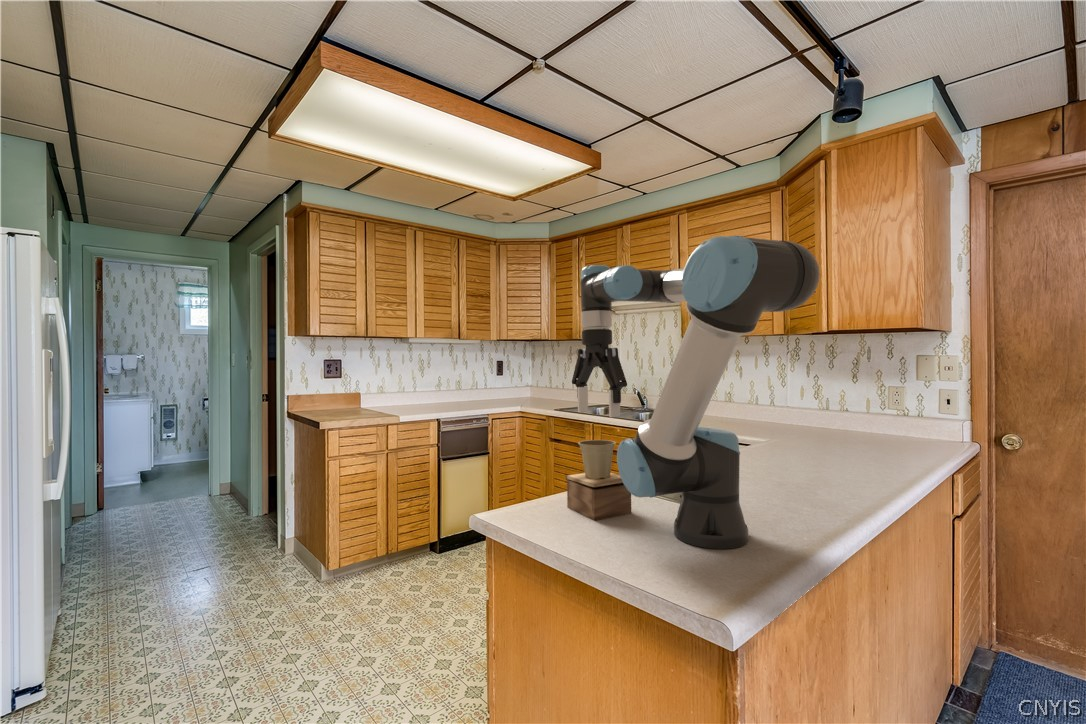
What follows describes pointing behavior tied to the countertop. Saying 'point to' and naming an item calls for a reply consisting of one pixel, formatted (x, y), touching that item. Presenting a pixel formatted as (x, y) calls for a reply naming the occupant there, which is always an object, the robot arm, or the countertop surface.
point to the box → (598, 500)
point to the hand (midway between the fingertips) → (598, 414)
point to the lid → (595, 480)
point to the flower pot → (597, 457)
